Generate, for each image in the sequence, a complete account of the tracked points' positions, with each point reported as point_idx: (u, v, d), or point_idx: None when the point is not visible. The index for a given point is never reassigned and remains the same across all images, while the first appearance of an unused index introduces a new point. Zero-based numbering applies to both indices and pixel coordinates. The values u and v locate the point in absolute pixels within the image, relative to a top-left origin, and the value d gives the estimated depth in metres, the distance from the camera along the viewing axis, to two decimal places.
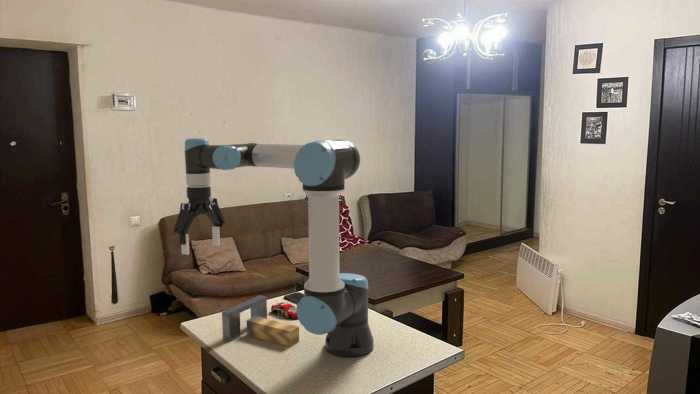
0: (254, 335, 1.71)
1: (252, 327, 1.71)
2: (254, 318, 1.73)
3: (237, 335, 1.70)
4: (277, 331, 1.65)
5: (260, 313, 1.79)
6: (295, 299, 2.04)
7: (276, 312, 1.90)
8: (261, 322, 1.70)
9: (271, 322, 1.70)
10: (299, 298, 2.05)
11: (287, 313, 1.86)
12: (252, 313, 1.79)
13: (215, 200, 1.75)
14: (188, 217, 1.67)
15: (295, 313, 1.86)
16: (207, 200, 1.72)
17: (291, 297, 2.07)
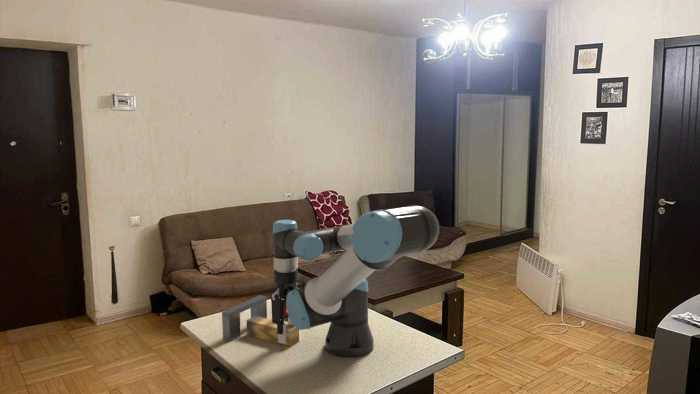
0: (254, 335, 1.71)
1: (252, 327, 1.71)
2: (254, 318, 1.73)
3: (237, 335, 1.70)
4: None
5: (260, 313, 1.79)
6: None
7: None
8: (261, 322, 1.70)
9: (271, 321, 1.70)
10: None
11: None
12: (252, 313, 1.79)
13: (300, 286, 1.68)
14: (280, 305, 1.62)
15: None
16: (294, 282, 1.66)
17: None
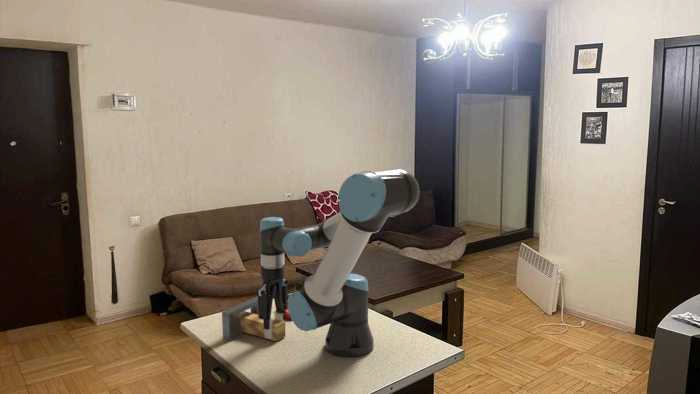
0: (241, 330, 1.73)
1: None
2: (242, 313, 1.76)
3: (237, 335, 1.70)
4: (263, 326, 1.68)
5: None
6: None
7: None
8: (249, 317, 1.73)
9: None
10: None
11: (283, 313, 1.87)
12: None
13: (287, 282, 1.71)
14: (267, 301, 1.65)
15: (289, 314, 1.85)
16: (281, 278, 1.68)
17: None
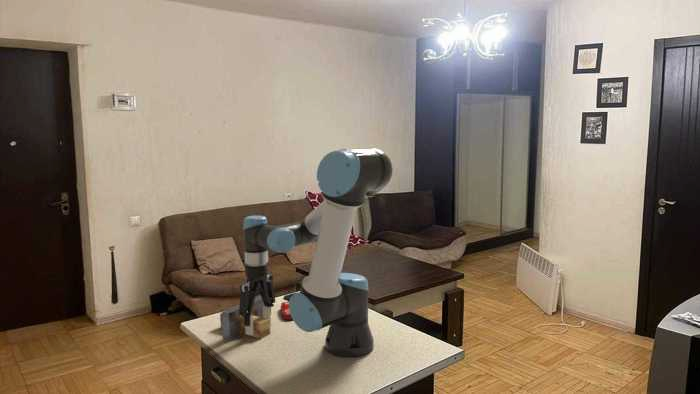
0: None
1: None
2: None
3: (237, 335, 1.70)
4: None
5: (260, 313, 1.79)
6: None
7: (281, 309, 1.93)
8: None
9: None
10: None
11: (282, 312, 1.87)
12: (252, 313, 1.79)
13: (271, 277, 1.75)
14: (249, 297, 1.67)
15: (287, 314, 1.85)
16: (264, 276, 1.72)
17: None
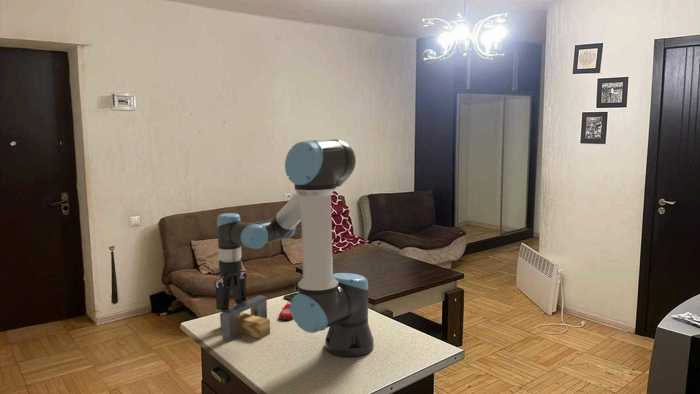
0: None
1: None
2: None
3: (237, 335, 1.70)
4: (248, 324, 1.71)
5: (260, 313, 1.79)
6: None
7: None
8: None
9: (244, 315, 1.76)
10: None
11: None
12: (252, 313, 1.79)
13: (245, 275, 1.80)
14: (225, 292, 1.74)
15: (282, 314, 1.85)
16: (239, 271, 1.78)
17: (291, 297, 2.07)
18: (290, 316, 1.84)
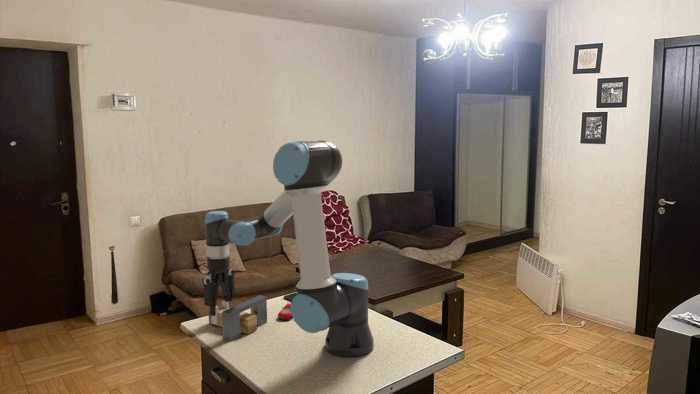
0: None
1: None
2: None
3: (237, 335, 1.70)
4: None
5: (260, 313, 1.79)
6: None
7: None
8: None
9: None
10: None
11: None
12: (252, 313, 1.79)
13: (233, 272, 1.83)
14: (212, 289, 1.77)
15: (280, 314, 1.85)
16: (227, 268, 1.80)
17: (291, 297, 2.07)
18: (288, 316, 1.84)
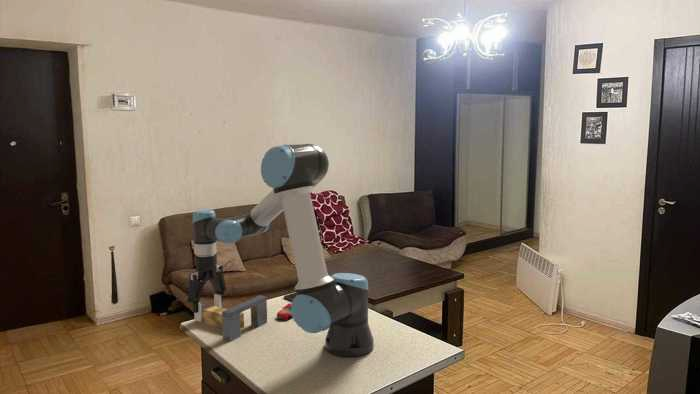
0: (203, 321, 1.82)
1: None
2: (204, 306, 1.85)
3: (237, 335, 1.70)
4: None
5: (260, 313, 1.79)
6: None
7: None
8: (210, 309, 1.82)
9: (219, 309, 1.82)
10: None
11: None
12: (252, 313, 1.79)
13: (221, 267, 1.86)
14: (198, 286, 1.79)
15: (279, 313, 1.86)
16: (214, 266, 1.83)
17: (291, 297, 2.07)
18: (285, 316, 1.84)
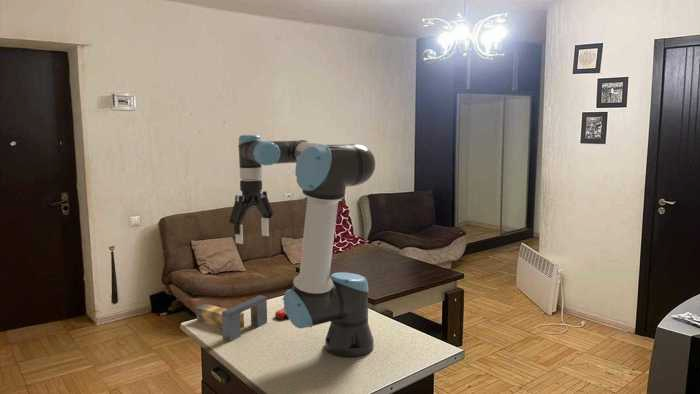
0: (203, 321, 1.82)
1: (201, 314, 1.82)
2: (204, 306, 1.85)
3: (237, 335, 1.70)
4: None
5: (260, 313, 1.79)
6: None
7: None
8: (210, 309, 1.82)
9: (219, 309, 1.82)
10: None
11: None
12: (252, 313, 1.79)
13: (265, 193, 1.86)
14: (242, 209, 1.78)
15: (276, 312, 1.87)
16: (258, 193, 1.83)
17: None
18: (281, 316, 1.85)
